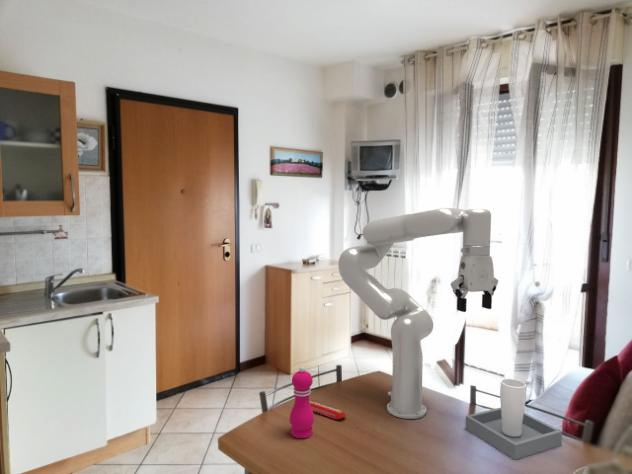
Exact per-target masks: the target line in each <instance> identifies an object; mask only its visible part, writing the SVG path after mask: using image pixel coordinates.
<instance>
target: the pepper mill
mask: <svg viewBox="0 0 632 474" xmlns="http://www.w3.org/2000/svg"><path fill="white" fill-rule="evenodd" d="M291 385H292V386H293V395H294V403H293V406H292V409H291V411H290V414H289V423H290V425H291V428H290V434H292V435H293V436H294V437H296V438H295V439H297V438H306V439H309V438H311V437H312V436H313V425H314V423H315V415H314V412H313V411H312V408H311V406H310V402H309V401H310V394H311V393H312V392H311V390H312V389H311V387H312V385H313V376H312V374H311V373H310V372H308V371H306V367H305V366H300V367H299V370H298V371H296V372H294V374H293V375H292V378H291ZM292 435H291V436H292ZM311 435H312V436H311ZM293 436H292V437H293ZM294 437H293V438H294ZM308 437H309V438H308Z"/></svg>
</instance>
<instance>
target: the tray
mask: <svg viewBox="0 0 632 474" xmlns="http://www.w3.org/2000/svg"><path fill="white" fill-rule="evenodd" d="M464 426H465V427H464V428H465V430H466V431H467V432H470V433H471V434H473V435H474V436H476V437H477V438H479V439H481V440H482V441H484V442H486V443H487V444H489V445H491V446H492V447H493V448H495V449H497V450H498V451H500V452H502V453H503V454H505V455H506V456H508V457H509V458H511V459H513V460H514V461H516V460H519V459H522V458H525V457H529V456H532V455H535V454H539V453H541V452H544V451H549V450H551V449H554V448H558V447H561V446H562V440H563V438H562V436H563V430H560V429H559V428H556V427H553V426H552V425H550V424H549V423H546V422H544V421H542V420H540V419H538V418H536V417H534V416H531V415H530V414H528V413H526V412H524V415H523V423H522V434H521V436H519V437H510V436H507V435H505V434H504V433H503V432H502V430H501V427H502V421H501V407H497V408H493V409H489V410H485V411H481V412H476V413H473V414H468V415H465V425H464Z"/></svg>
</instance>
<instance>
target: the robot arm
mask: <svg viewBox="0 0 632 474" xmlns="http://www.w3.org/2000/svg"><path fill="white" fill-rule="evenodd" d="M491 226H492V213H491V211H490V210H489V209H485V208H484V209H483V208H481V209H479V208H477V209H476V208H475V209H474V208H472V209H471V208H470V209H463V208H452V207H451V208H450V207H443V208H441V207H440V208H436V209H430V210H425V211H420V212H415V213H407V214H402V215H396V216H391V217H385V218H381V219H380V218H378V219H375V220H371V221H369V222H367V223H366V224H365V225H364V227H363V229H362V237H363V239H364V241H365V242H366V243H365V244H364V245H359V246H358V245H357V246H352V247H351V246H350V247H348V248H347V249H344V251H342V252H341V254H340V256H339V258H338V265H337V266H338V272H339V275H340V277H341V279H342V281H343V282H344V283H345V285H346V286H348V288H349V289H350V290H352V291H353V292H354V293H355V294H356V295H357V296H358V297H359V299H360V300H361V301H362V302H363V303H364V304H365V306H366V307H367V308H368V309H369V310H371V311H372V312H373V314H374V315H376V316H377V318H379V319H381V320H384V321H385V320H392V319H393V318H395V320H394V321H393V322H392V324H391V327H390V340H391V346H392V347H391V348H392V378H391V379H392V380H391V382H392V385H391V388H392V389H391V391H388V392H387V395H388V397H390V401H389V402H388V403H387V405H386V410H387V412H388V413H389V414H390V415H392V416H394V417H397V418H399V419H405V420H416V419H417V420H418V419H421V418H423V417H425V416H426V414H427V407H426V406H425V405H424V404H423V401H422V399H423V367H424V366H423V365H424V364H423V362H424V361H423V360H424V359H423V349H422V346H421V345H422V344H421V341H423V340H424V339H425V338H427V337H428V336H429V335H430V334H431V333H432V332H433V329H434V320H433V318H432V317H431V315H430V314H429V313H428V312H427V310H426V309H425V308H424V307H423V306H421V305H420V303H419V302H418V301H417V300H415V298H413V296H411V295H410V294H409V293H408V292H407V291H405V290H403V289H401V288H398V287H393V288H386V287H385V286H384V285H383V284H382V283H380V282H379V280H378V279H377V278H376V277H375V276H373V275H372V274H370V273H369V272H367V271H366V270H370V269H373V268H375V267H377V266H378V265H379V264H380V263H381V262H382V260H383V259H384V258H385V256H386V255H387V253H388V252H389V251H390V250H391V248H392V246H394V244H396V243H403V242H410V241H414V240H415V239H418V238H425V237H433V236H439V235H440V236H441V235H448V234H459V233H462V248H461V249H460V252H461V254H462V255H461V257H460V260H459V265H458V273H457V278H455V279H454V280H453V281H451V282H450V287H451V289H452V292H453V294H454V296H455V297H456V310H457V311H459V312H461V313H466V312H467V298H466V296H467V295H468V293H469V292H471V293H476V292H483V293H482V295H481V307H482V308H483V309H487V310H491V309H492V308H493V307H492V303H493V296H494V294H495V292H496V290H497V286H498V284H499V280H498V278H496V277H495V273H494V272H495V271H494V263H493V257H492V256H491V255H490V254H491V232H492V231H491V229H492V227H491Z"/></svg>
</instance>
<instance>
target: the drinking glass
mask: <svg viewBox="0 0 632 474" xmlns="http://www.w3.org/2000/svg"><path fill="white" fill-rule="evenodd" d="M499 387H500V393H499V396H500V397H499V398H500V399H499V401H500V408H501V421H502V427H501V430H502V432H503V433H504V434H505V435H507V436H510V437H519V436H521V434H522V423H523V415H524V413H525V407H526V400H527V398H526V397H527V384H526V383H525V382H524V381H522V380H519V379H517V378H516V379H515V378H503V379H501V380H500V386H499Z"/></svg>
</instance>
